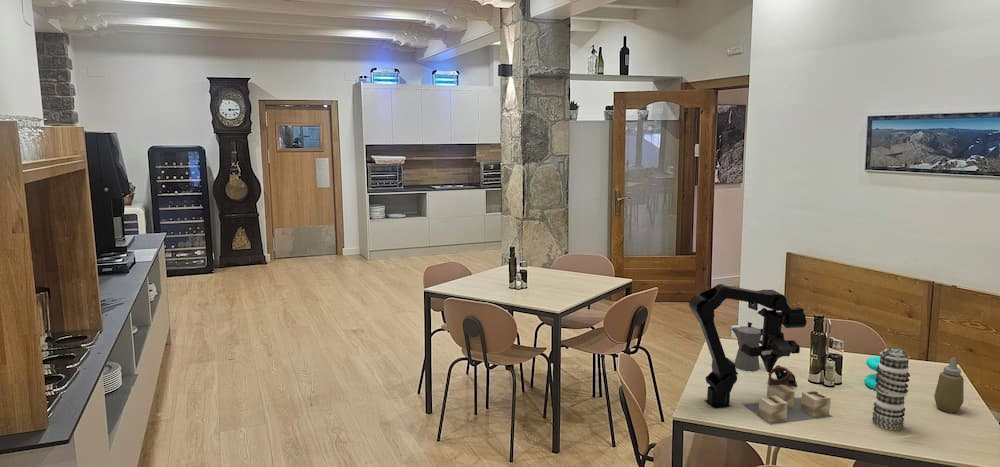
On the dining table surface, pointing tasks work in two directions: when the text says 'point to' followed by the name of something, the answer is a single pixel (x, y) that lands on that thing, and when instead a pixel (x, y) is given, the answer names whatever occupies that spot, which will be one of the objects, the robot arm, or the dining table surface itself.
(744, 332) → the coffeepot
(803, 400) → the numbered block seven
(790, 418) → the charcoal mat
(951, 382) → the squeeze bottle
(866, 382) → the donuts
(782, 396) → the plain block
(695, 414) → the dining table surface
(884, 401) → the striped patterned cylinder
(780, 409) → the numbered block one
